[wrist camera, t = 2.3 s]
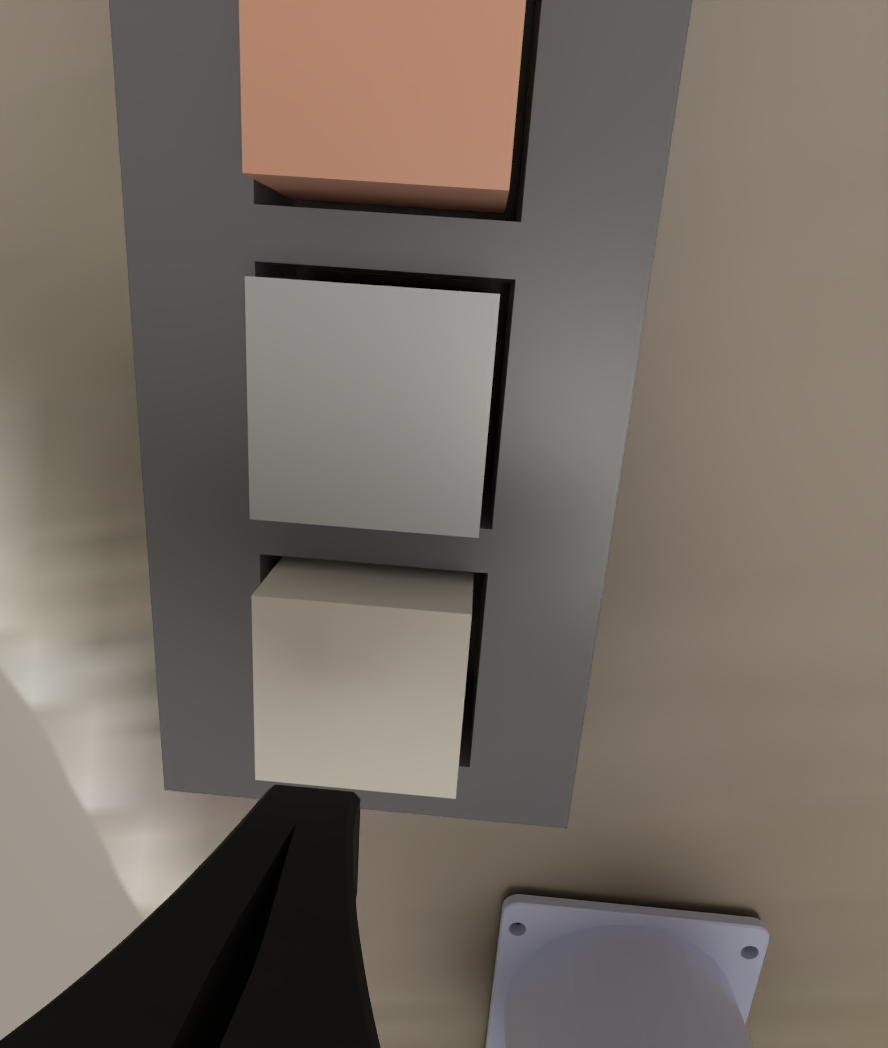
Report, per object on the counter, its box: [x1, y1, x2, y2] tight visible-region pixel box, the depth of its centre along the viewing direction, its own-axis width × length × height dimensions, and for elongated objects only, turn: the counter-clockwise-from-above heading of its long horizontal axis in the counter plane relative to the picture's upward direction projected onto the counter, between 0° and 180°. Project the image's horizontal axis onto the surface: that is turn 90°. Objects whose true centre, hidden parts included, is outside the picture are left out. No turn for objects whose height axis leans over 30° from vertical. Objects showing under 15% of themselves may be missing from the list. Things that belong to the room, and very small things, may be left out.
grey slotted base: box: [109, 0, 692, 828], centre depth 15 cm, size 20×10×3 cm, turn 176°
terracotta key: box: [239, 0, 526, 213], centre depth 12 cm, size 4×4×3 cm
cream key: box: [251, 556, 474, 799], centre depth 16 cm, size 4×4×3 cm
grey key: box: [245, 276, 500, 538], centre depth 14 cm, size 4×4×3 cm
